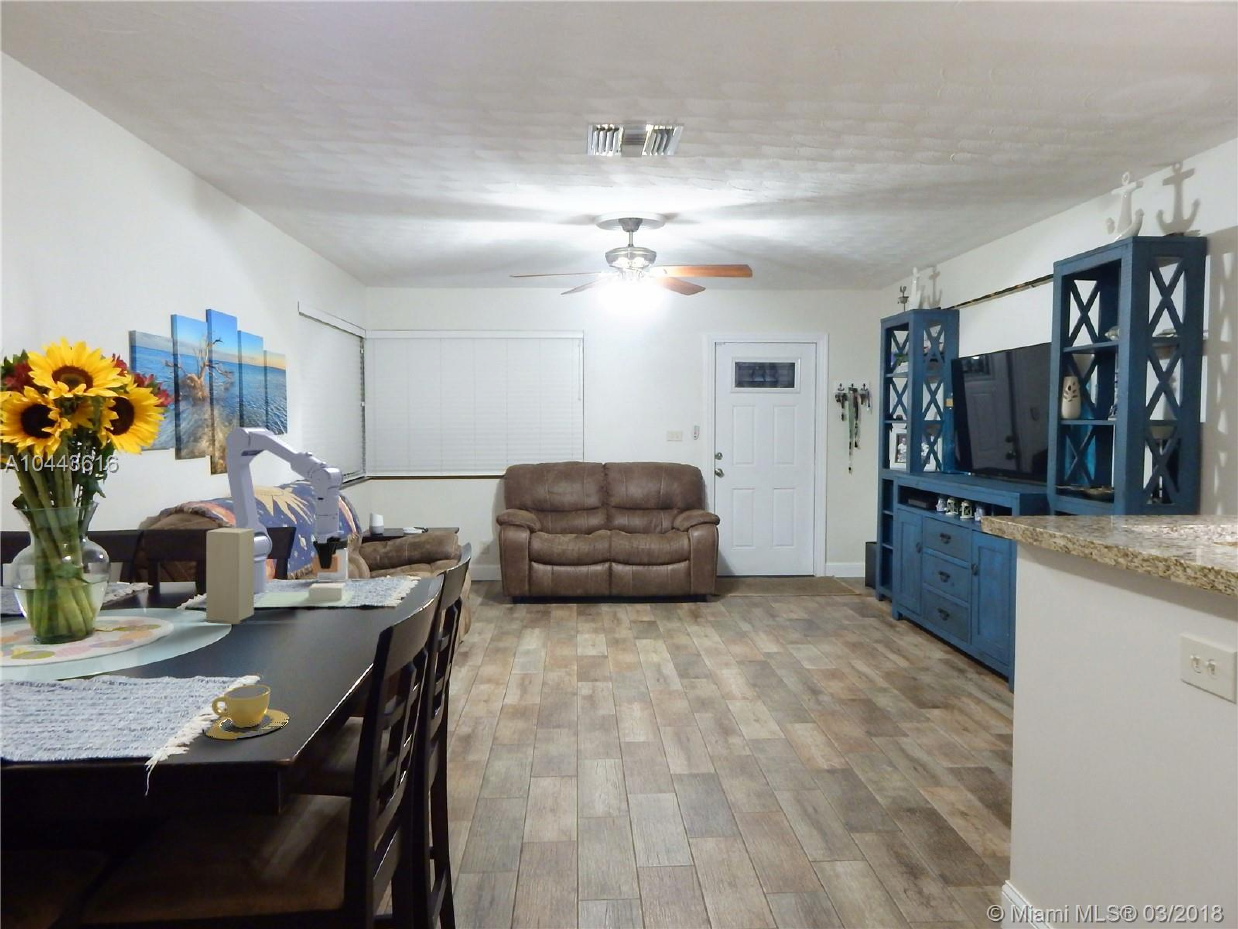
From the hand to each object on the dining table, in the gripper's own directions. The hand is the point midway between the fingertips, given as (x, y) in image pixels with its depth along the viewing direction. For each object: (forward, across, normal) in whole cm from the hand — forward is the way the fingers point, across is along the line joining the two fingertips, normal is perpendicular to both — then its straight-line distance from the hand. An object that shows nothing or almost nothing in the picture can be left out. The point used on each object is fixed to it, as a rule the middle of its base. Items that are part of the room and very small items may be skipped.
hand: (327, 566), depth 205 cm
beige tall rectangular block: (+9, -18, +18) cm, 27 cm away
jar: (+9, +26, +3) cm, 28 cm away
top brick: (+1, 0, 0) cm, 1 cm away
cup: (+9, -84, -3) cm, 85 cm away
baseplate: (+9, -1, +5) cm, 10 cm away
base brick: (+8, 0, 0) cm, 8 cm away
